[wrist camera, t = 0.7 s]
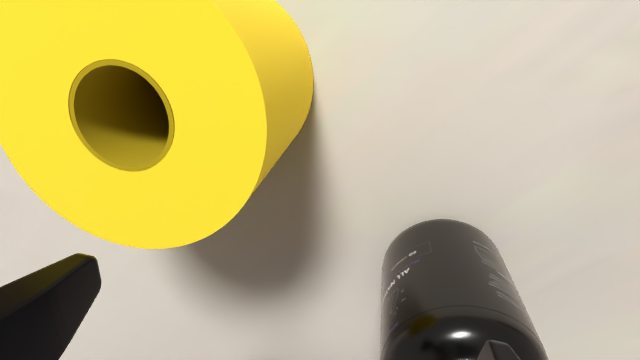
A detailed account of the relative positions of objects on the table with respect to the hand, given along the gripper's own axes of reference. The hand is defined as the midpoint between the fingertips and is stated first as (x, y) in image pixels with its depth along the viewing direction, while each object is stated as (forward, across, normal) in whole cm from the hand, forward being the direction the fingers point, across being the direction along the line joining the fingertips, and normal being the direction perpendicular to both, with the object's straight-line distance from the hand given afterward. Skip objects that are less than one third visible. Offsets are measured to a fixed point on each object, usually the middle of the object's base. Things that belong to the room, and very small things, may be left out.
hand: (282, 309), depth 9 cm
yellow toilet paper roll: (+15, +7, 0) cm, 16 cm away
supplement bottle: (+14, -7, +9) cm, 18 cm away
